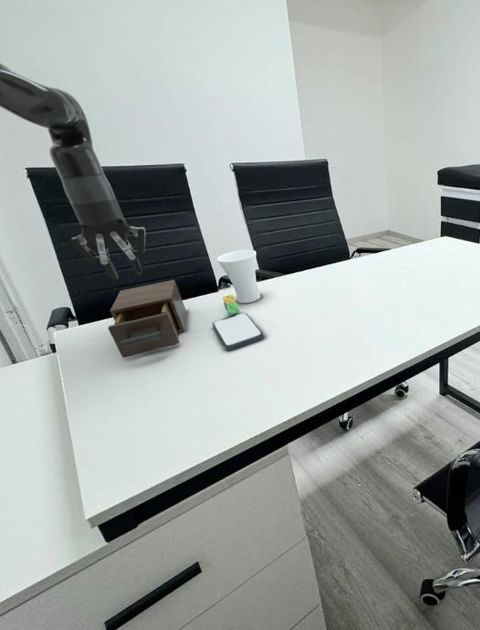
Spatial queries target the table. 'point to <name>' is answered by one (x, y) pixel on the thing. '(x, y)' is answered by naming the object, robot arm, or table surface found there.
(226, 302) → the kitchen sponge
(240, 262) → the cup
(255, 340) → the phone case
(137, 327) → the drawer
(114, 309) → the cabinet
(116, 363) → the table surface
